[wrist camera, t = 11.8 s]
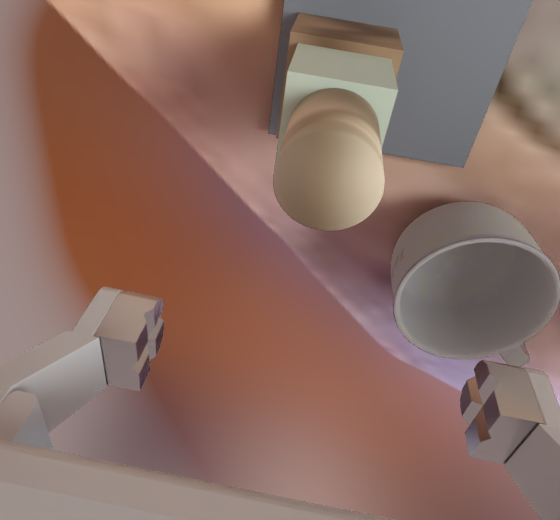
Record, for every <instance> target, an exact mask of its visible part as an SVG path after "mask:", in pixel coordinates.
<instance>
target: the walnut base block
mask: <svg viewBox="0 0 560 520" xmlns="http://www.w3.org/2000/svg"><path fill="white" fill-rule="evenodd" d="M298 43H301V44H307V45H313V46H318V47H324V48H330V49H336V50H342V51H348V52H353V53H359V54H365V55H371V56H377V57H383V58H388V59H392V64H393V68H394V73H395V78H397V74H398V70H399V67H400V63H401V60H402V56H403V52H404V49H403V46H402V43H401V40H400V36H399V33H398V30H397V29H394V28H389V27H383V26H377V25H371V24H365V23H359V22H353V21H348V20H342V19H336V18H330V17H324V16H318V15H312V14H307V13H301V12H299V14H298V16H297V18H296V21H295V23H294V25H293V27H292V29H291V31H290V39H289V47H288V54H287V62H286V69H285V77H284V84H283V92H282V99H281V107H280V115H279V122H278V130H277V137H276V138H277V139H278V138H279V131H280V124H281V116H282V109H283V101H284V94H285V87H286V79H287V72H288V69H289V66H290V63H291V61H292V58H293V55H294V53H295V50H296V47H297V45H298Z"/></svg>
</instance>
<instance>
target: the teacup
mask: <svg viewBox="0 0 560 520" xmlns="http://www.w3.org/2000/svg"><path fill="white" fill-rule="evenodd" d="M391 285H392V293H393V312H394V317H395V321H396V323H397V326H398V328H399V329H400V331H401V333H402V334H403V336H404V337H405V338H407V339H408V341H409V342H411V343H413V344H414V345H415V346H417V347H418V348H419V349H421V350H423V351H425V352H427V353H429V354H432V355H436V356H440V357H444V358H450V359H476V358H482V357H487V356H491V355H497V354H499V353H500V354H501V356H502V357H503V359H504V360H505V362H506V363H507V364H508V365H512V366H518V367H520V366H523V365H525V364H527V363H528V362H529V359H530V358H529V353H528V351H527V348H526V346H525V344H524V342H526V341H527V340H529V339H530V338H531V337H533V336H534V335H536V334H537V333H538V332H539V331H540V330H541V329H543V328H544V326H545V325H546V324H547V323H548V322H549V320H550V319H551V317H552V316H553V314H554V313H555V311H556V308H557V306H558V303H559V300H560V278H559V275H558V272H557V270H556V268H555V266H554V265H553V263H552V262H551V260H550V259H549V258H548V257H547V256H546V255H545V254H544V253H543V252H542V250H541V249H540V247H539V246H538V245H537V243H536V242H535V240H534V239H533V238H532V236H531V235H530V234H529V232H528V231H527V230H526V229H525V227H524V226H523V225H522V224H521V223H520V222H519V221H518V220H517V219H516V218H515V217H513V216H512V215H511V214H509V213H508V212H506V211H504V210H502V209H500V208H498V207H496V206H493V205H490V204H486V203H481V202H473V201H463V202H453V203H449V204H444V205H441V206H438V207H436V208H433V209H431V210H429V211H427V212H425V213H423V214H422V215H420V216H419V217H418V218H416V219H415V220H414V221H412V222H411V223H410V224H409V225H408V226H407V227H406V229H405V230H404V231H403V232H402V234H401V235H400V237H399V239H398V240H397V242H396V245H395V247H394V250H393V253H392V258H391Z"/></svg>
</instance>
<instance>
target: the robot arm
mask: <svg viewBox="0 0 560 520" xmlns="http://www.w3.org/2000/svg"><path fill="white" fill-rule="evenodd" d="M162 310H163V300H162V299H161V298H157V297H153V296H148V295H143V294H139V293H134V292H130V291H125V290H119V289H114V288H110V287H103V288H101V289H100V290H99V291H98V293H97V294H96V295H95V297H94V298H93V300H92V301H91V303H90V304H89V306H88V307H87V309H86V311H85V312H84V313H83V315H82V316H81V318H80V320H79V321H78V322H77V324H76V325H75V327H74V328H73V330H72V331H71V332H70V331H64V332H62V333H61V334H58V335H56V336H55V337H53V338H51V339H49V340H47V341H45V342H43V343H41V344H39V345H37V346H36V347H33V348H32V349H30V350H28V351H26V352H24V353H22V354H20V355H18V356H16V357H14V358H13V359H11V360H9V361H7V362H5V363H3V364H1V365H0V520H394V519H389V518H384V517H378V516H374V515H369V514H364V513H359V512H355V511H350V510H345V509H340V508H335V507H330V506H325V505H320V504H315V503H310V502H305V501H300V500H295V499H291V498H285V497H281V496H276V495H271V494H266V493H261V492H256V491H251V490H246V489H241V488H236V487H231V486H227V485H221V484H217V483H212V482H207V481H202V480H197V479H192V478H187V477H183V476H178V475H173V474H167V473H163V472H158V471H153V470H148V469H143V468H139V467H133V466H129V465H124V464H119V463H114V462H109V461H104V460H99V459H94V458H90V457H85V456H80V455H75V454H70V453H65V452H60V451H55V450H54V449H53V446H52V443H51V440H50V437H49V432H50V431H52V430H53V429H54V428H56V427H57V426H58V425H59V424H61V423H62V422H63V421H65V420H66V419H67V418H68V417H70V416H71V415H72V414H74V413H75V412H76V411H77V410H79V409H80V408H81V407H83V406H84V405H85V404H86V403H88V402H89V401H90V400H92V399H93V398H94V397H96V396H97V395H98V394H99V393H101V392H102V391H103V390H104V389H106V388H107V385H108V386H114V387H119V388H125V389H131V390H137V391H141V389H142V386H143V384H144V382H145V380H146V378H147V375H148V373H149V371H150V362H149V360H150V359H152V358H154V357H156V355H157V353H158V351H159V348H160V345H161V341H162V337H163V331H164V321H163V320H162V319H161V317H160V315H161V313H162ZM474 372H475V377H473V378H471V379H469V380H467V381H466V383H465V385H464V387H463V389H462V394H461V398H460V404H461V405H460V408H461V413H462V417H463V418H464V419H465V421H466V422H467V423H468V424H469V427H468V428H467V430H466V431H465V435H466V441H467V445H468V451H469V456H470V457H473V458H477V459H481V460H486V461H490V462H495V463H499V464H504V468H505V469H506V470H507V472H508V473H509V475H510V476H511V478H512V479H513V481H514V482H515V484H516V485H517V486H518V488H519V489H520V491H521V492H522V494H523V495H524V496H525V498H526V499H527V501H528V502H529V504H530V505H531V506H532V508H533V509H534V511H535V512H536V514H537V515H538V517H539V518H540V519H541V520H560V406H559V404H558V401H557V399H556V396H555V393H554V391H553V388H552V386H551V383H550V381H549V378H548V376H547V374H546V373H545V372H544V371H539V370H534V369H528V368H521V367H518V366H512V365H507V364H501V363H496V362H490V361H485V360H482V361H480V362H479V363H478V364H477V365H476V367H475V368H474Z"/></svg>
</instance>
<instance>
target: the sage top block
mask: <svg viewBox="0 0 560 520" xmlns="http://www.w3.org/2000/svg"><path fill="white" fill-rule="evenodd" d="M327 88H342V89H346V90H350V91H352V92H355V93H356V94H358V95H360V96H361V97H363V98H364V99H365V100H366V101H367V102H368V103H369V104H370V105H371V107H372V108H373V110H374V111H375V113H376V116H377V118H378V122H379V129H380V139H381V148H382V146H383V142H384V139H385V135H386V131H387V128H388V124H389V121H390V117H391V114H392V110H393V107H394V103H395V100H396V96H397V93H398V87H397V82H396V78H395V73H394V68H393V64H392V59H388V58H383V57H377V56H371V55H365V54H359V53H353V52H348V51H342V50H336V49H330V48H324V47H318V46H313V45H307V44H301V43H298V45H297V47H296V50H295V53H294V55H293V58H292V61H291V63H290V66H289V69H288V72H287V79H286V87H285V94H284V101H283V109H282V116H281V124H280V131H279V138H278V146H277V153H276V161H275V166H276V163H277V159H278V156H279V152H280V149H281V146H282V142H283V139H284V135H285V132H286V128H287V125H288V121H289V119H290V116H291V114H292V112H293V110H294V109H295V107H296V106H297V105H298V103H299V102H300V101H301V100H303V99H304V98H305V97H306V96H308V95H310V94H311V93H313V92H316V91H318V90H322V89H327ZM274 170H275V168H274Z"/></svg>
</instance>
